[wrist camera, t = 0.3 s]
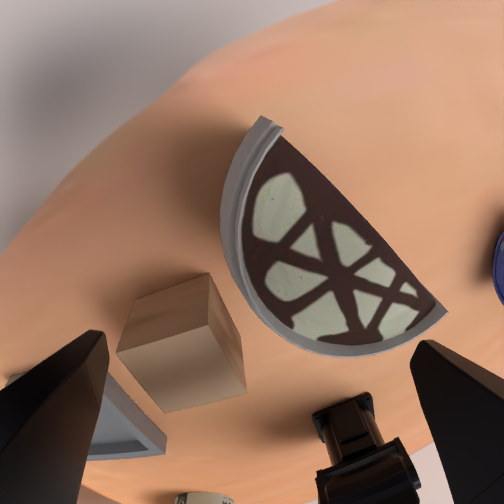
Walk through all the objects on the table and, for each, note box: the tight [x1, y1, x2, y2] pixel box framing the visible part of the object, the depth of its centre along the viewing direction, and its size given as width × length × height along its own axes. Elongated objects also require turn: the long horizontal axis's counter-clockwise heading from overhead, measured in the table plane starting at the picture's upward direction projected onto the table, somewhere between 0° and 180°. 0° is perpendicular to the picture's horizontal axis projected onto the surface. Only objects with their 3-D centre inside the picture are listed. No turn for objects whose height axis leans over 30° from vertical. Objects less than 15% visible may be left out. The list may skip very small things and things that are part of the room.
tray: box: [4, 371, 167, 461], centre depth 26 cm, size 13×13×2 cm
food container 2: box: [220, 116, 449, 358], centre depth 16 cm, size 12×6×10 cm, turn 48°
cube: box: [116, 273, 247, 413], centre depth 21 cm, size 6×6×6 cm
